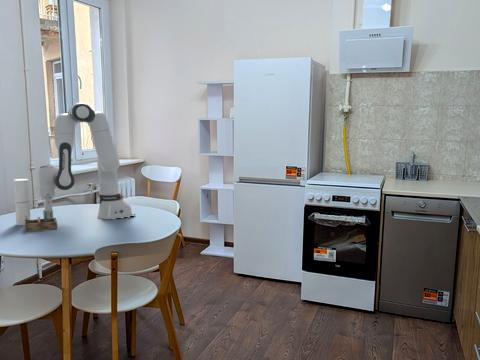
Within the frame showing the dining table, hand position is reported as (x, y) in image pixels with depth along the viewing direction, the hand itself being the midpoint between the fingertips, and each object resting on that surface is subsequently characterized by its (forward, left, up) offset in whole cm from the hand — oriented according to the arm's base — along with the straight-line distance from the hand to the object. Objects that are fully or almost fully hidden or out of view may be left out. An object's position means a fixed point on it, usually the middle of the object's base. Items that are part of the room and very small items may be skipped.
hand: (48, 216), depth 235 cm
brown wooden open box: (+4, +15, -3) cm, 16 cm away
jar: (0, 0, -3) cm, 3 cm away
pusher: (+5, +15, -2) cm, 16 cm away
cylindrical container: (+13, 0, -3) cm, 13 cm away
